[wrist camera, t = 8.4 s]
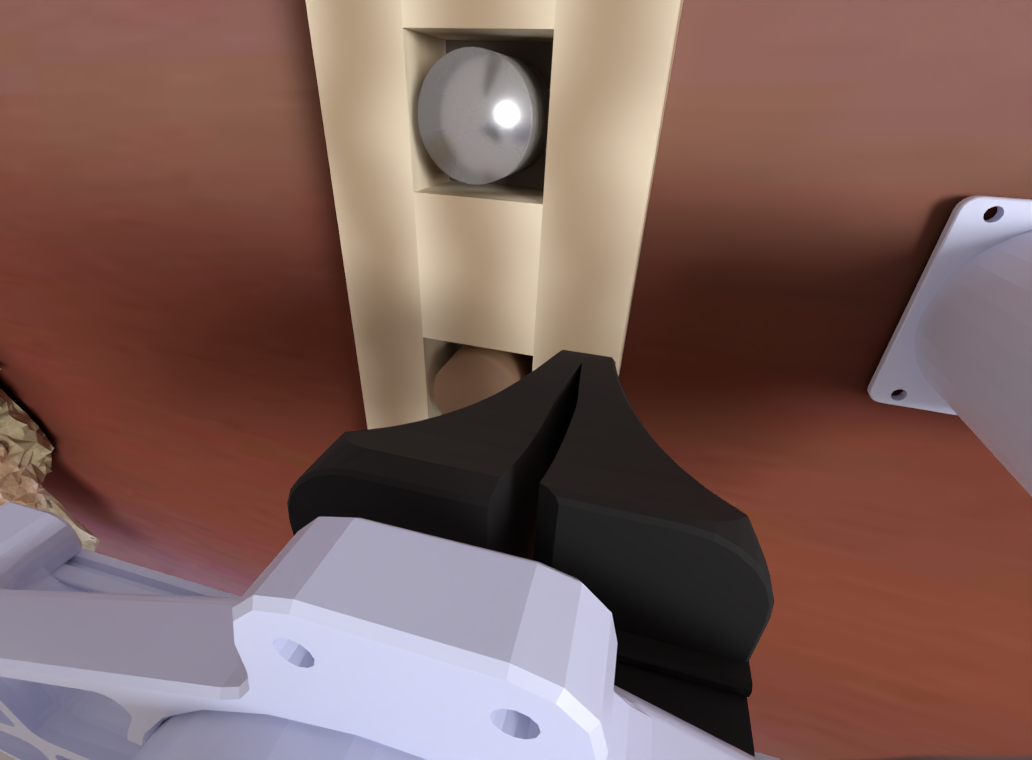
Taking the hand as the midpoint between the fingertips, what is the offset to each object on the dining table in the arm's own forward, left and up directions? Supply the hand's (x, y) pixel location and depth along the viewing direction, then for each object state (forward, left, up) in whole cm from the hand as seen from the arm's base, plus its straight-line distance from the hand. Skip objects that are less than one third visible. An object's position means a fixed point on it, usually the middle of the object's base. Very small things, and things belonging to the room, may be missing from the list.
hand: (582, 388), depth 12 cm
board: (+5, 0, -10) cm, 12 cm away
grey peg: (+5, -5, -10) cm, 13 cm away
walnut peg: (+5, +6, -10) cm, 13 cm away
